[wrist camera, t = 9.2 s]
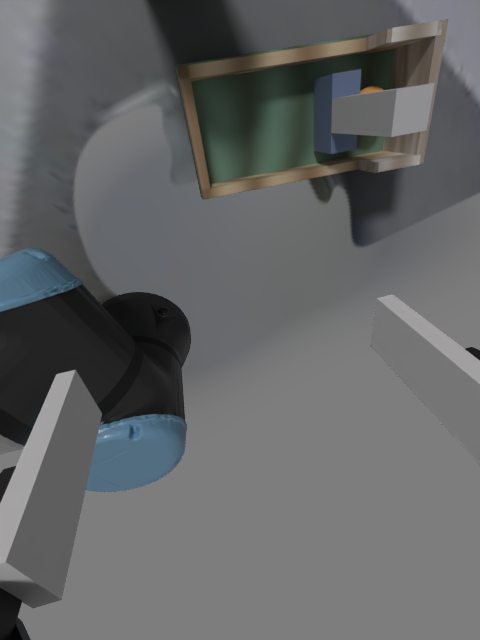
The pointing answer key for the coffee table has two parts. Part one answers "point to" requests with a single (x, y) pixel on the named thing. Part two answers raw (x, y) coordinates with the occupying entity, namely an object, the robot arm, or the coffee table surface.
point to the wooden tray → (298, 108)
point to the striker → (365, 111)
